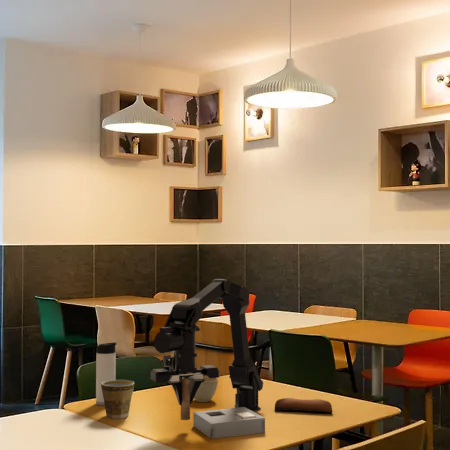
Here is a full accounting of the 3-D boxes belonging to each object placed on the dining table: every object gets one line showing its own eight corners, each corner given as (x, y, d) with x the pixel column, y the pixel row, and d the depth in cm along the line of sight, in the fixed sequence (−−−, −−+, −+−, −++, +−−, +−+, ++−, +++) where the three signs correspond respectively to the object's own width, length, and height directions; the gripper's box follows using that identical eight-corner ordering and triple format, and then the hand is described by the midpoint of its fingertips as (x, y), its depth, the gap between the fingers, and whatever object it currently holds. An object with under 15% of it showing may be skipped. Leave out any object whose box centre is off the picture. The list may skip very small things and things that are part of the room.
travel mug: (112, 406, 218) (112, 344, 218) (93, 405, 219) (93, 343, 220) (119, 401, 224) (119, 341, 224) (100, 401, 225) (100, 340, 226)
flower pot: (223, 399, 228) (223, 378, 228) (207, 405, 219) (207, 383, 219) (199, 396, 233) (199, 375, 233) (182, 401, 224) (182, 379, 225)
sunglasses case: (334, 407, 215) (333, 392, 212) (332, 424, 209) (332, 408, 206) (278, 405, 219) (276, 389, 216) (275, 420, 213) (273, 405, 210)
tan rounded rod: (188, 417, 190) (188, 378, 191) (191, 419, 188) (191, 380, 188) (179, 418, 189) (179, 379, 190) (182, 420, 187) (182, 380, 187)
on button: (248, 419, 192) (248, 412, 192) (255, 423, 188) (255, 415, 188) (236, 420, 191) (236, 413, 191) (243, 424, 186) (243, 417, 187)
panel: (244, 420, 200) (244, 406, 200) (265, 432, 187) (264, 417, 187) (193, 425, 194) (193, 411, 194) (211, 438, 181) (211, 423, 181)
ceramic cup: (140, 415, 206) (141, 382, 206) (114, 422, 198) (114, 387, 198) (114, 408, 214) (114, 377, 215) (88, 414, 207) (88, 381, 207)
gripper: (205, 342, 200) (206, 395, 200) (145, 346, 193) (145, 401, 193) (220, 348, 190) (220, 403, 190) (156, 352, 183) (156, 410, 182)
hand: (185, 404), depth 189 cm, fingers closed on tan rounded rod, 3 cm apart
